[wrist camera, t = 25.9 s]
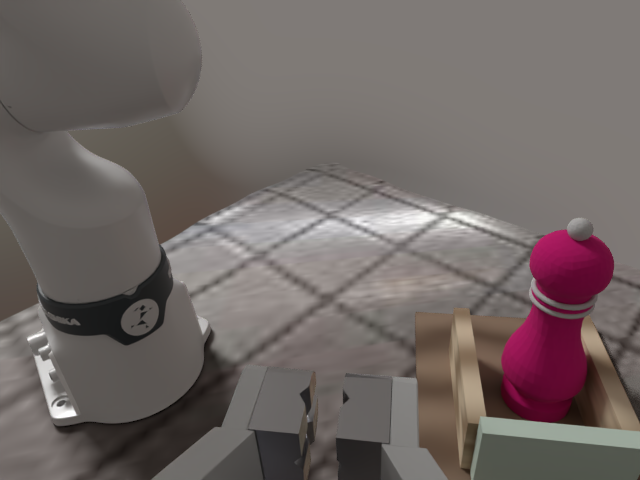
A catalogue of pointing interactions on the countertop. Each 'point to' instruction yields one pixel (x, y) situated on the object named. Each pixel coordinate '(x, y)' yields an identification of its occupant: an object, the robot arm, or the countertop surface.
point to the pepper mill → (555, 323)
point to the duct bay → (495, 384)
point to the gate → (553, 452)
